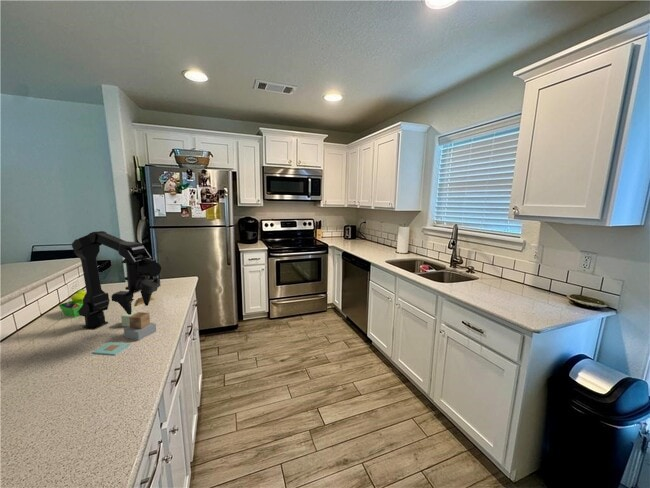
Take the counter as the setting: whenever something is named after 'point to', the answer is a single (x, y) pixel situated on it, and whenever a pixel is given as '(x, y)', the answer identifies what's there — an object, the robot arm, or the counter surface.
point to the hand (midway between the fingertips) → (138, 309)
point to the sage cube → (127, 318)
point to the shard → (140, 300)
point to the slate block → (140, 332)
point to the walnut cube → (139, 320)
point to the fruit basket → (73, 304)
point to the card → (111, 348)
